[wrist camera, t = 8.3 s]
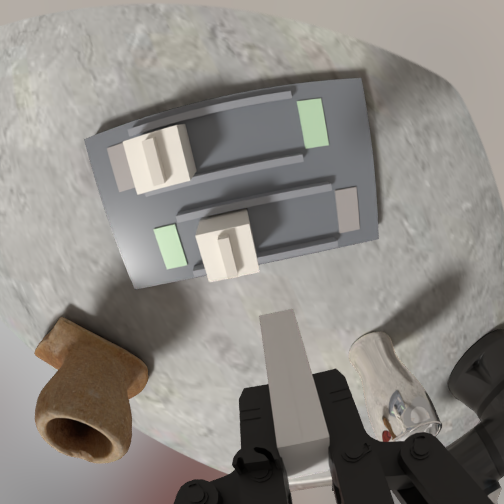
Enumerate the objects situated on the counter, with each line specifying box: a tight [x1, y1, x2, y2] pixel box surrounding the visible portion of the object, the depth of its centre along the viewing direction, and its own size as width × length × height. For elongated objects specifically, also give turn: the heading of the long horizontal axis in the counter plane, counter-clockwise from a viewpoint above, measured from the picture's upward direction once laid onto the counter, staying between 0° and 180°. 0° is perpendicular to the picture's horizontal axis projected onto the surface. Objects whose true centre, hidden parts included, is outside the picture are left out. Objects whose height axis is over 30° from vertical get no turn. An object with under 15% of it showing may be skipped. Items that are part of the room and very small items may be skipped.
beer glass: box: [348, 332, 442, 442], centre depth 30 cm, size 7×7×15 cm
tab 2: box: [195, 208, 260, 282], centre depth 25 cm, size 4×4×5 cm
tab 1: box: [123, 124, 197, 195], centre depth 21 cm, size 4×4×5 cm
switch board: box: [84, 78, 379, 289], centre depth 26 cm, size 24×15×3 cm, turn 101°
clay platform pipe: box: [35, 317, 149, 463], centre depth 28 cm, size 15×12×15 cm
